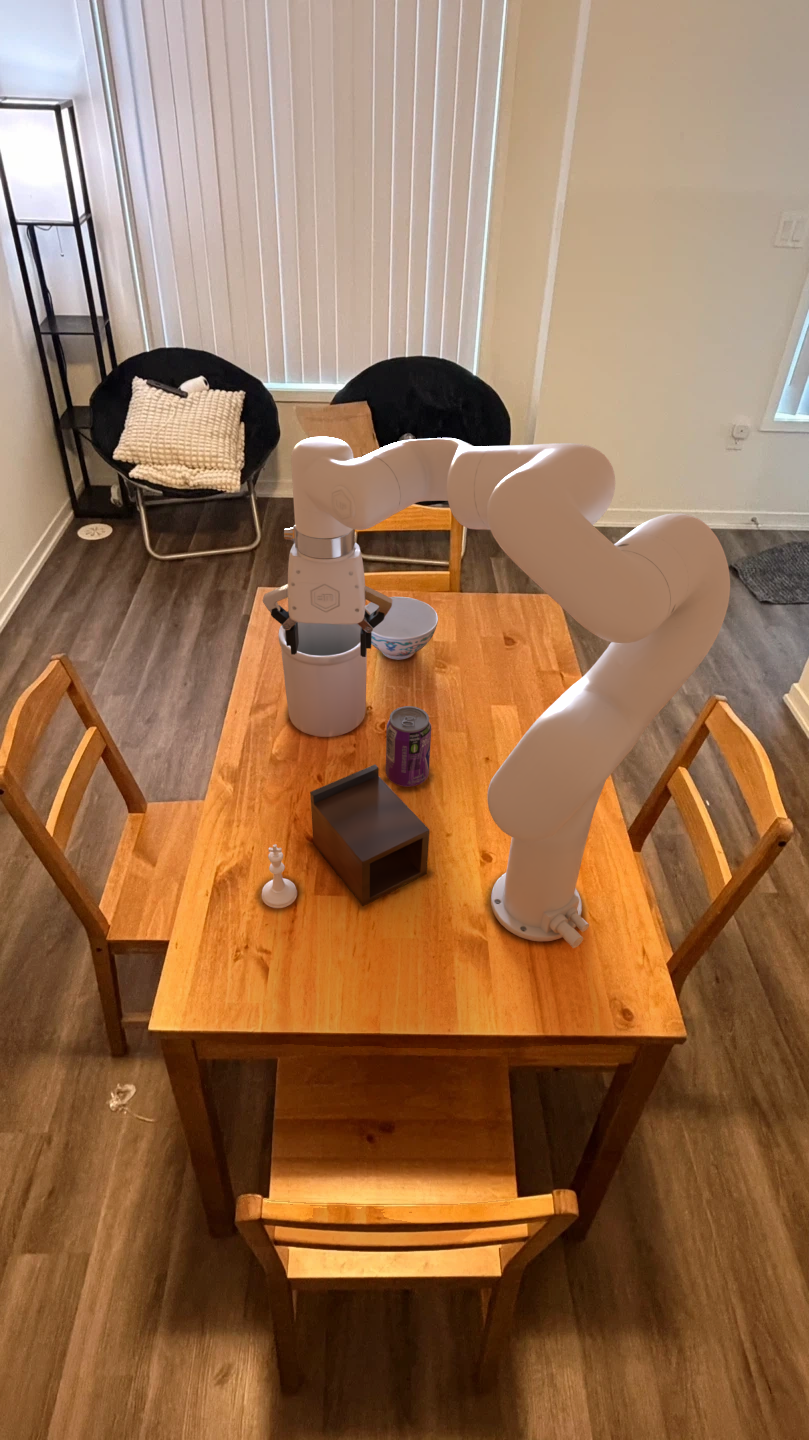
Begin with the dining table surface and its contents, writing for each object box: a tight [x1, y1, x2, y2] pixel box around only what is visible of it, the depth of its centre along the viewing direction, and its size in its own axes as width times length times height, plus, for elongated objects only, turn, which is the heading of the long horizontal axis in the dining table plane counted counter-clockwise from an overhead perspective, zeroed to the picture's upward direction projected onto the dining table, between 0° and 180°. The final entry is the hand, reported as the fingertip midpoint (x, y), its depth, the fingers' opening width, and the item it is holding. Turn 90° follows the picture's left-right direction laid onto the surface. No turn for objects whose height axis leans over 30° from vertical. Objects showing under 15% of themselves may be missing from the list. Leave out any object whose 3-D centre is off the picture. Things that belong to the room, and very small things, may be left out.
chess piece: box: [261, 843, 298, 909], centre depth 117 cm, size 5×5×10 cm
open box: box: [309, 764, 430, 907], centre depth 122 cm, size 14×11×11 cm
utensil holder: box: [277, 622, 368, 738], centre depth 147 cm, size 15×15×18 cm
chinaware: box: [365, 596, 439, 660], centre depth 166 cm, size 15×15×8 cm
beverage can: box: [385, 705, 432, 787], centre depth 136 cm, size 7×7×12 cm
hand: (329, 650), depth 119 cm, fingers open, 9 cm apart
